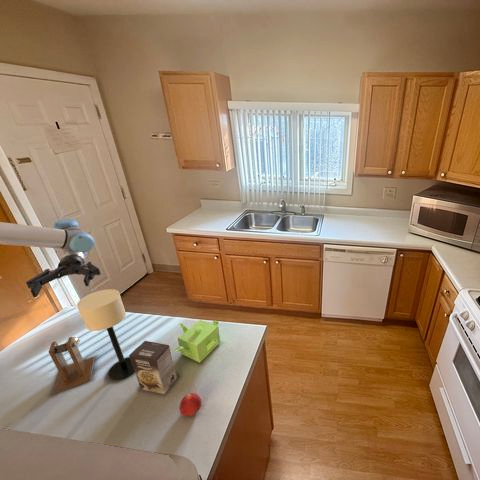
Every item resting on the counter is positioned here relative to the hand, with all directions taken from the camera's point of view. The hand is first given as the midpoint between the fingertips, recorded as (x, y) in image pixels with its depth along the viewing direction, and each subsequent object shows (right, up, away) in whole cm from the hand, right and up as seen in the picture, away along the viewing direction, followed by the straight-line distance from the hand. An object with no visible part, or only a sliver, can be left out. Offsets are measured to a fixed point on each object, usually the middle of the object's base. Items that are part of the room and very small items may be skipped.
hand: (60, 288), depth 90 cm
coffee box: (+38, -32, -5) cm, 50 cm away
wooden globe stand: (+9, -30, -3) cm, 31 cm away
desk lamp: (+23, -29, 0) cm, 37 cm away
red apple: (+53, -36, -12) cm, 65 cm away
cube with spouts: (+45, -26, +9) cm, 53 cm away
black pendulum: (+7, -20, -4) cm, 22 cm away
